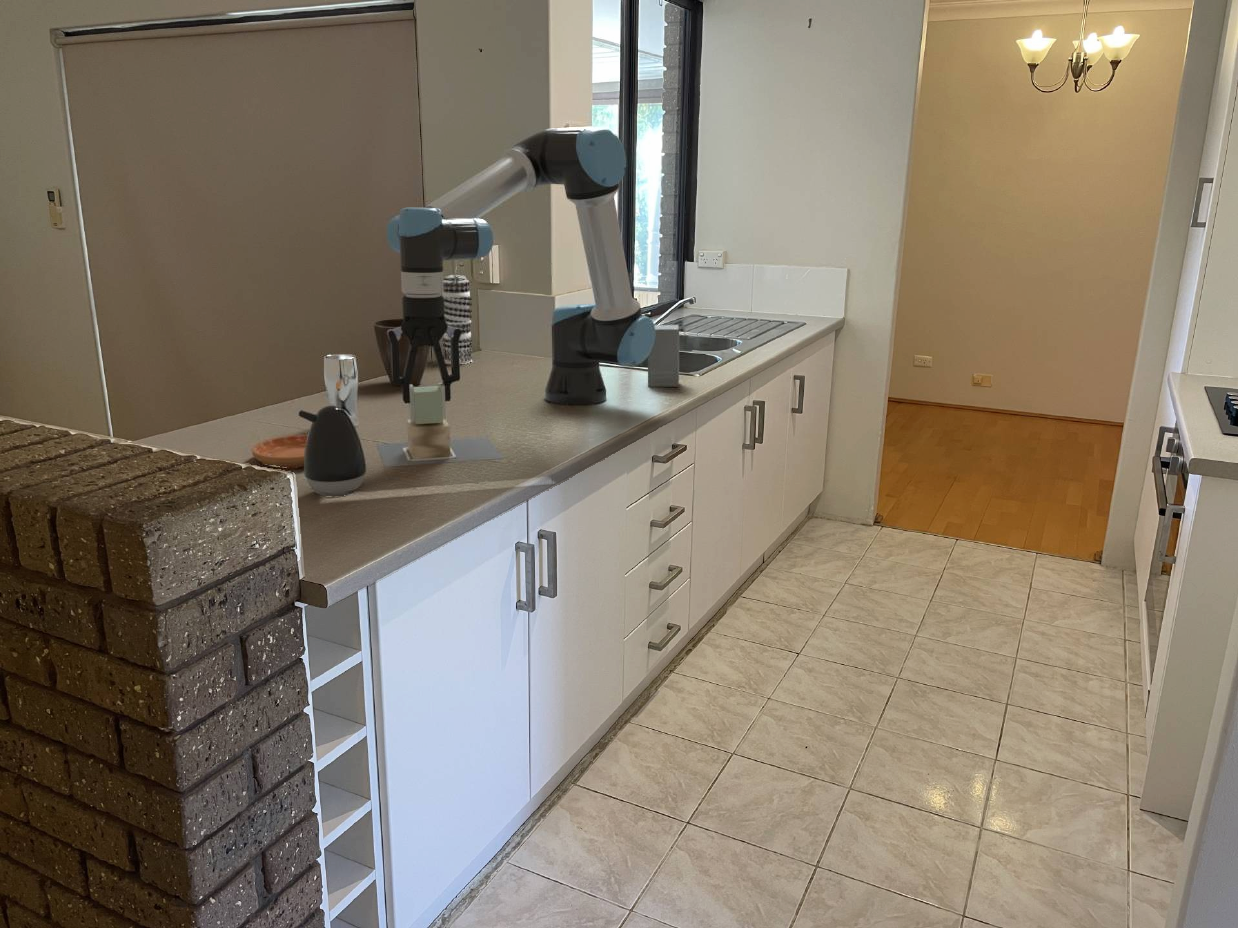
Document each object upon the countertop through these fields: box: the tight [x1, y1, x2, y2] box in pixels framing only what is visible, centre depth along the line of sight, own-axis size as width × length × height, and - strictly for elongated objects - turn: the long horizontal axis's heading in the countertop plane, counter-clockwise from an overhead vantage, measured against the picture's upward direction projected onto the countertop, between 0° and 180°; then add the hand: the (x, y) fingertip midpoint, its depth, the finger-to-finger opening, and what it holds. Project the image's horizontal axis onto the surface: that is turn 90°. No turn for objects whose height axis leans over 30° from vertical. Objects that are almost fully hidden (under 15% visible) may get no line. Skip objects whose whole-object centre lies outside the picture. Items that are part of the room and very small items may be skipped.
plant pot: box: [373, 318, 431, 387], centre depth 246 cm, size 15×15×16 cm
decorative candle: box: [441, 274, 474, 365], centre depth 275 cm, size 9×9×25 cm
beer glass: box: [323, 353, 360, 428], centre depth 204 cm, size 7×7×15 cm
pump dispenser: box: [298, 405, 367, 498], centre depth 160 cm, size 10×10×15 cm
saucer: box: [251, 434, 308, 469], centre depth 181 cm, size 16×16×3 cm
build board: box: [376, 436, 504, 468], centre depth 184 cm, size 22×16×1 cm
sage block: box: [413, 385, 443, 424], centre depth 179 cm, size 5×5×6 cm
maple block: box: [406, 419, 451, 459], centre depth 181 cm, size 7×7×6 cm
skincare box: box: [647, 324, 680, 388], centre depth 250 cm, size 8×7×16 cm
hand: (427, 418), depth 180 cm, fingers closed on sage block, 5 cm apart
